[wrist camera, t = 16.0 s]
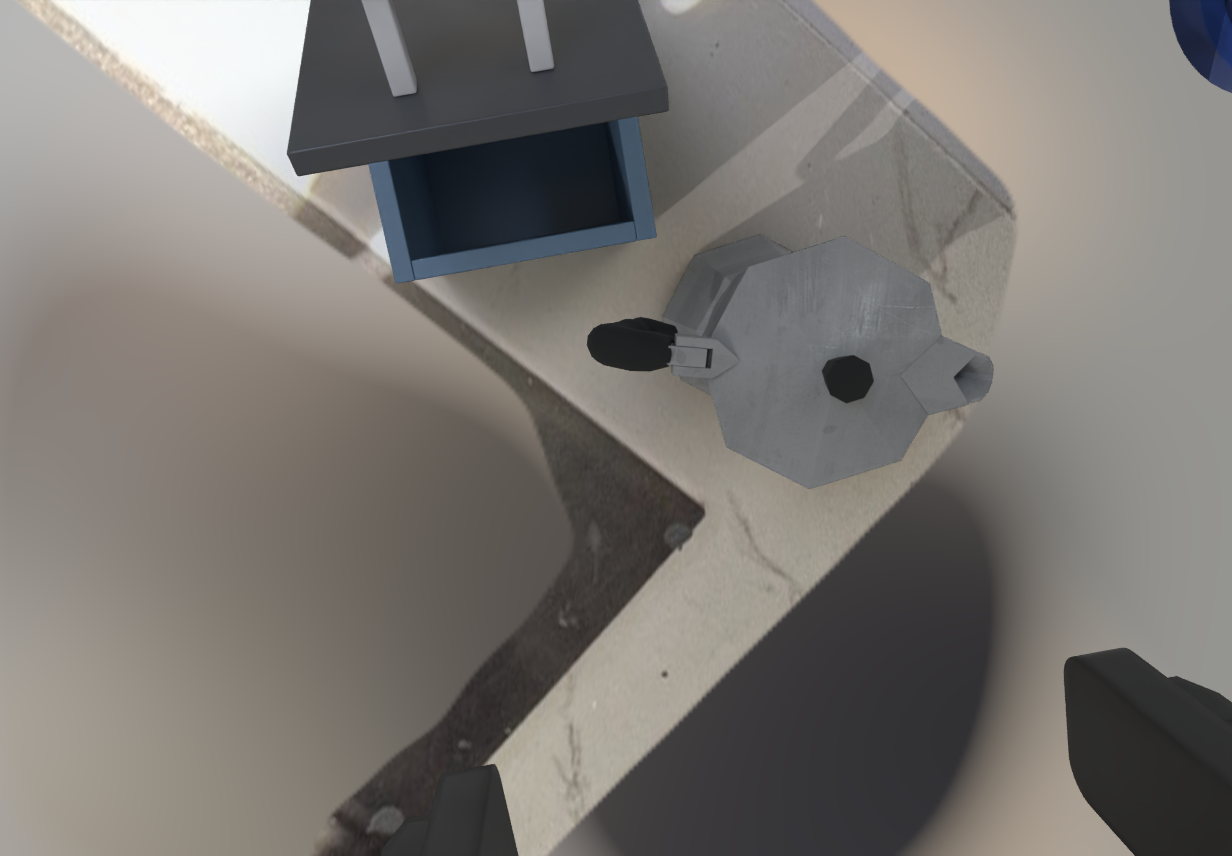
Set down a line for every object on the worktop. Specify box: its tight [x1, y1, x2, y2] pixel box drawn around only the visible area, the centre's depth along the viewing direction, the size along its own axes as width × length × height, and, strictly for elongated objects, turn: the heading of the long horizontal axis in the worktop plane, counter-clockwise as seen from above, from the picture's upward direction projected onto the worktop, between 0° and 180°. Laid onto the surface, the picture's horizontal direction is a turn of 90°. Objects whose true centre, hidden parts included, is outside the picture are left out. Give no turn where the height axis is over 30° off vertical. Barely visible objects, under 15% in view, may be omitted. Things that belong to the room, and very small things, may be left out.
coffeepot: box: [587, 234, 993, 489], centre depth 38 cm, size 15×9×18 cm, turn 85°
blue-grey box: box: [368, 117, 657, 284], centre depth 39 cm, size 12×11×11 cm
